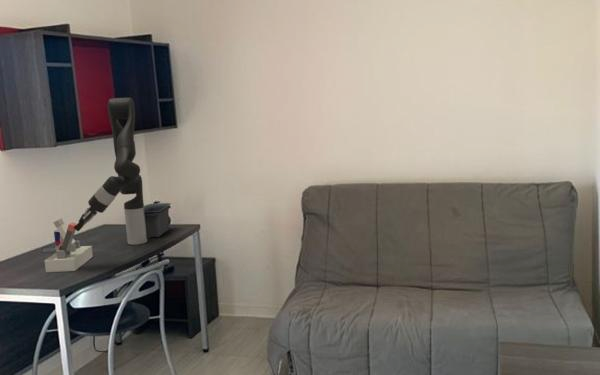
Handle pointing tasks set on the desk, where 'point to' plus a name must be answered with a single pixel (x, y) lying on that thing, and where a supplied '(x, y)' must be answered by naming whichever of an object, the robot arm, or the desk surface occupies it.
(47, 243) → the desk surface
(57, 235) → the energy drink
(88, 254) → the switch box
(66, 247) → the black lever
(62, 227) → the ivory lever
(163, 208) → the storage bin
